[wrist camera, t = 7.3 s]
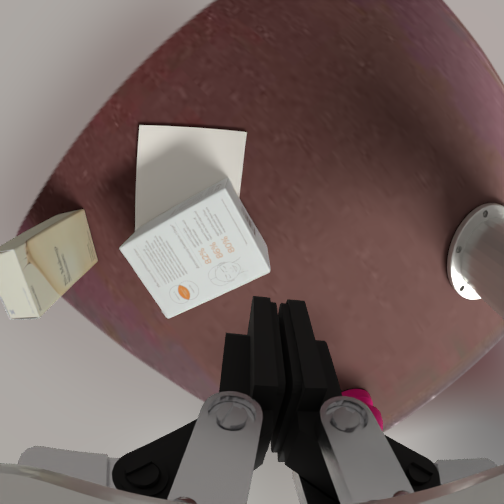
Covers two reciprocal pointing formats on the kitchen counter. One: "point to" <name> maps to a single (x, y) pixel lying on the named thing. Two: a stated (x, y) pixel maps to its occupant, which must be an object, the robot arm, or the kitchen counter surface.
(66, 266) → the skincare box
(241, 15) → the kitchen counter surface
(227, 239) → the small box
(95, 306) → the kitchen counter surface
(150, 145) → the mat
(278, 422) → the robot arm
